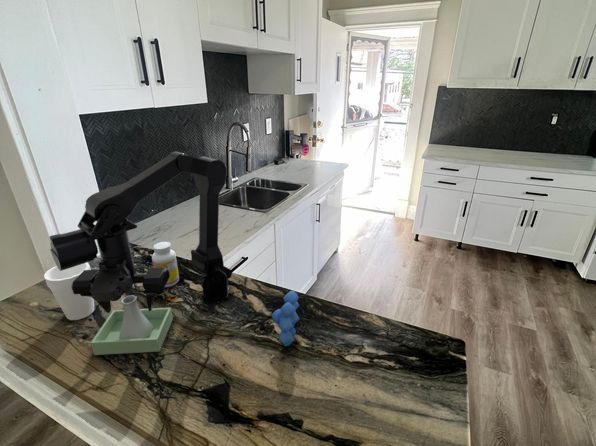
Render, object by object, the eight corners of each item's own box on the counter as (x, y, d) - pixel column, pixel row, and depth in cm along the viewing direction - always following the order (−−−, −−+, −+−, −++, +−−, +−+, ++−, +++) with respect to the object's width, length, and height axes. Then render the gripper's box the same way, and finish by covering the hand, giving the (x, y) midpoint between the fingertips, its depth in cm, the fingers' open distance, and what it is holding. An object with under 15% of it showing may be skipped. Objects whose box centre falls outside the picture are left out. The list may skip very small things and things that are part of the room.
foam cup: (50, 318, 81) (35, 275, 76) (84, 298, 89) (72, 258, 84) (75, 328, 78) (61, 284, 73) (108, 306, 86) (97, 265, 81)
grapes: (277, 319, 82) (276, 280, 78) (302, 322, 81) (303, 283, 77) (265, 352, 72) (264, 310, 67) (294, 356, 71) (295, 313, 66)
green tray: (173, 318, 82) (171, 307, 80) (159, 351, 72) (157, 339, 70) (116, 321, 81) (113, 310, 79) (94, 355, 70) (90, 342, 69)
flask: (140, 346, 72) (131, 311, 68) (112, 341, 73) (103, 306, 69) (159, 325, 79) (152, 292, 75) (133, 321, 80) (125, 288, 76)
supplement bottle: (151, 283, 96) (144, 246, 91) (170, 274, 101) (164, 238, 96) (166, 290, 93) (159, 252, 88) (184, 280, 98) (178, 243, 93)
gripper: (44, 273, 59) (67, 338, 65) (148, 270, 60) (160, 333, 67) (77, 246, 69) (94, 304, 75) (165, 244, 71) (174, 301, 77)
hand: (130, 311), depth 73 cm, fingers open, 9 cm apart
